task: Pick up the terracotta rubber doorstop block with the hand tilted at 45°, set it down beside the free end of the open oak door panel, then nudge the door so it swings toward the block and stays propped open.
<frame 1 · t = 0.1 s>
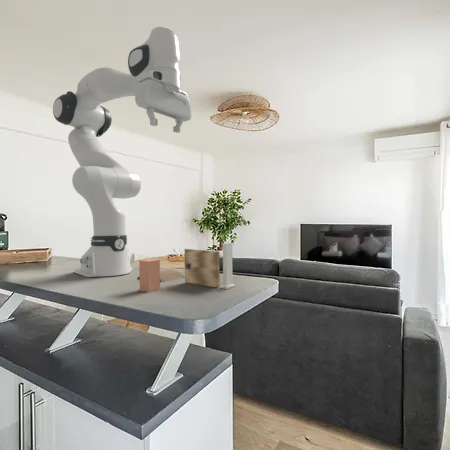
hand: (165, 128, 97), 48 cm above the countertop, tool pointing down, fingers open, 8 cm apart
doorstop block: (149, 289, 89), on the countertop
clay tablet: (161, 280, 107), on the countertop
wall post: (227, 287, 91), on the countertop
oak door: (200, 267, 94), point 5 cm above the countertop, hinge at 0.0°
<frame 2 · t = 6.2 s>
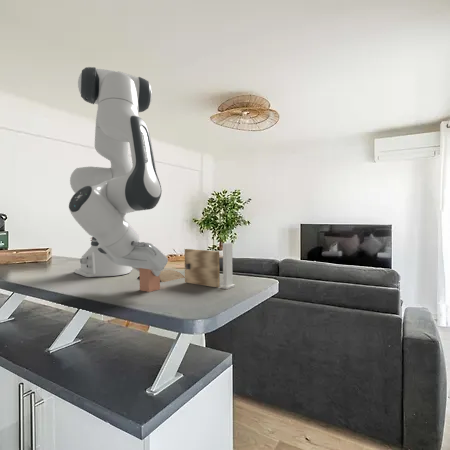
hand: (151, 273, 89), 5 cm above the countertop, tool tilted 45°, fingers closed on doorstop block, 4 cm apart
doorstop block: (149, 289, 89), on the countertop, touching gripper
everything else where it was.
when the fingers open (6 cm above the countertop, at t = 11.1 s): doorstop block drops 1 cm, on the countertop.
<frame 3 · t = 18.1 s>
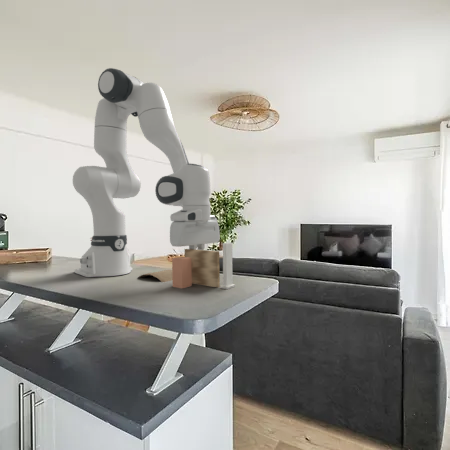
hand: (197, 258, 99), 7 cm above the countertop, tool pointing down, fingers closed
doorstop block: (182, 286, 93), on the countertop
oak door: (200, 267, 94), point 5 cm above the countertop, hinge at 0.0°, touching gripper
everything else where it was.
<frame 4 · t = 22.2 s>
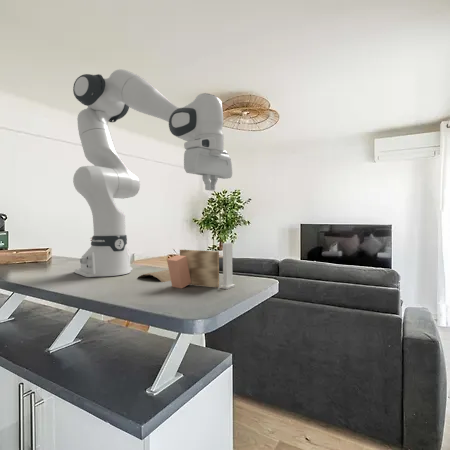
hand: (210, 190, 99), 29 cm above the countertop, tool pointing down, fingers closed
doorstop block: (181, 284, 93), on the countertop, tilted 14°, touching oak door
oak door: (198, 268, 93), point 5 cm above the countertop, hinge at 10.2°, touching doorstop block
everything else where it was.
at the end: doorstop block 0.3 cm from the target spot, point 0.5 cm above the countertop; doorstop block tilted 14°; oak door at +10° (first picture: +0°) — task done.
